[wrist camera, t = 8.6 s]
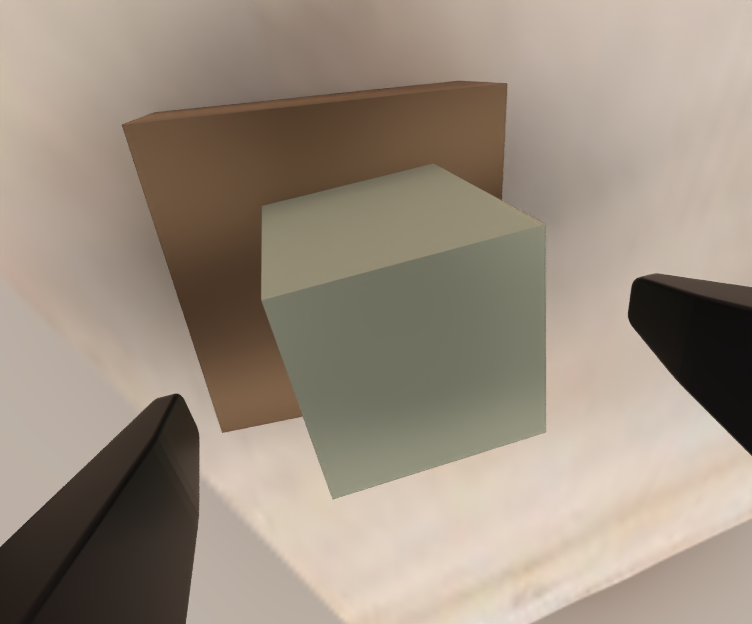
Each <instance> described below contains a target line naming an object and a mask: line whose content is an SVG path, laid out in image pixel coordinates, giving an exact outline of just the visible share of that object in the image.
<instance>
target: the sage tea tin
mask: <svg viewBox="0 0 752 624" xmlns="http://www.w3.org/2000/svg"><path fill="white" fill-rule="evenodd" d="M261 301H262V304H263V306H264V309H265V312H266V315H267V318H268V320H269V323H270V326H271V329H272V332H273V334H274V337H275V340H276V343H277V345H278V348H279V351H280V354H281V357H282V359H283V362H284V365H285V368H286V371H287V373H288V376H289V379H290V382H291V385H292V387H293V390H294V393H295V396H296V399H297V401H298V404H299V407H300V410H301V413H302V415H303V418H304V421H305V424H306V427H307V429H308V432H309V435H310V438H311V441H312V443H313V446H314V449H315V452H316V454H317V457H318V460H319V463H320V466H321V468H322V471H323V474H324V477H325V480H326V482H327V485H328V488H329V491H330V494H331V496H332V499H336V498H339V497H342V496H345V495H348V494H352V493H355V492H358V491H361V490H364V489H367V488H371V487H374V486H377V485H380V484H383V483H386V482H390V481H393V480H396V479H399V478H402V477H406V476H409V475H412V474H415V473H418V472H421V471H425V470H428V469H431V468H434V467H437V466H440V465H444V464H447V463H450V462H453V461H456V460H460V459H463V458H466V457H469V456H472V455H475V454H479V453H482V452H485V451H488V450H491V449H494V448H498V447H501V446H504V445H507V444H510V443H514V442H517V441H520V440H523V439H526V438H529V437H533V436H536V435H539V434H542V433H545V432H546V285H545V224H544V223H542V222H540V221H538V220H537V219H535V218H533V217H531V216H529V215H527V214H526V213H524V212H522V211H520V210H518V209H516V208H515V207H513V206H511V205H509V204H507V203H505V202H504V201H502V200H500V199H498V198H496V197H494V196H492V195H491V194H489V193H487V192H485V191H483V190H481V189H480V188H478V187H476V186H474V185H472V184H470V183H469V182H467V181H465V180H463V179H461V178H459V177H458V176H456V175H454V174H452V173H450V172H448V171H447V170H445V169H443V168H441V167H439V166H437V165H436V164H430V165H425V166H421V167H417V168H413V169H409V170H405V171H401V172H397V173H393V174H389V175H385V176H381V177H377V178H373V179H369V180H365V181H361V182H357V183H353V184H349V185H344V186H340V187H336V188H332V189H328V190H324V191H320V192H316V193H312V194H308V195H304V196H300V197H296V198H292V199H288V200H284V201H280V202H276V203H272V204H268V205H263V206H262V268H261Z"/></svg>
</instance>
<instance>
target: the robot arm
mask: <svg viewBox="0 0 752 624" xmlns="http://www.w3.org/2000/svg"><path fill="white" fill-rule="evenodd" d="M628 318H629V322H630V324H631V325H632V327H633V328H634V329H635V330H636V332H637V333H638V334H639V335H640V337H641V338H642V339H643V340H644V341H645V343H646V344H647V345H648V346H649V348H650V349H651V350H652V351H653V352H654V354H655V355H656V356H657V357H658V358H659V360H660V361H661V362H662V363H663V365H664V366H665V367H666V368H667V369H668V371H669V372H670V373H671V374H672V375H673V377H674V378H675V379H676V380H677V381H678V382H679V383H680V384H681V385H682V386H683V387H684V389H685V390H686V391H687V392H688V393H689V394H690V395H691V396H692V397H693V398H694V399H695V400H696V401H697V402H698V403H699V404H700V405H701V406H702V407H703V408H704V409H705V410H706V411H707V412H708V413H709V414H710V415H711V416H712V417H713V418H714V419H715V420H716V421H717V422H718V423H719V424H720V425H721V426H722V427H723V428H724V429H725V430H726V431H727V432H728V433H729V434H730V435H731V436H732V437H733V438H734V439H735V440H736V441H737V442H738V443H739V444H740V445H741V446H742V447H743V448H744V449H745V450H746V451H747V452H748V453H749V454H750V455H751V456H752V287H746V286H739V285H733V284H726V283H719V282H712V281H705V280H698V279H692V278H685V277H678V276H671V275H664V274H650V275H646V276H642V277H639V278H637V279H635V280H634V282H633V283H632V287H631V294H630V302H629V309H628ZM198 519H199V432H198V429H197V426H196V424H195V421H194V419H193V417H192V415H191V413H190V411H189V409H188V407H187V404H186V402H185V400H184V398H183V397H182V396H181V395H179V394H172V395H168V396H164V397H160V398H157V399H155V400H154V401H153V402H152V403H151V404H150V405H149V406H148V407H146V408H145V409H144V410H143V411H142V412H141V413H140V414H139V415H138V416H137V417H136V418H135V419H134V420H133V421H132V422H131V423H130V424H129V425H128V426H127V427H126V428H124V429H123V431H121V432H120V433H119V434H118V435H117V436H116V437H115V438H114V439H113V440H112V441H111V442H110V443H109V444H108V445H107V446H106V447H105V448H103V450H101V451H100V452H99V453H98V454H97V455H96V456H95V457H94V458H93V459H92V460H91V461H90V462H89V463H88V464H87V465H86V466H85V467H84V468H83V469H81V470H80V471H79V472H78V473H77V474H76V475H75V476H74V477H73V478H72V479H71V480H70V481H69V482H68V483H67V484H66V485H65V486H64V487H63V488H62V489H61V490H59V491H58V492H57V493H56V494H55V495H54V496H53V497H52V498H51V499H50V500H49V501H48V502H47V503H46V504H45V505H44V506H43V507H42V508H41V509H40V510H39V511H37V512H36V513H35V514H34V515H33V516H32V517H31V518H30V519H29V520H28V521H27V522H26V523H25V524H24V525H23V526H22V527H21V528H20V529H19V530H17V532H15V533H14V534H13V535H12V536H11V537H10V538H9V539H8V540H7V541H6V542H5V543H4V544H3V545H2V546H1V547H0V624H186V617H187V609H188V602H189V593H190V585H191V578H192V570H193V561H194V554H195V545H196V538H197V530H198Z"/></svg>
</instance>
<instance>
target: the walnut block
mask: <svg viewBox="0 0 752 624" xmlns="http://www.w3.org/2000/svg"><path fill="white" fill-rule="evenodd" d="M506 100H507V83H489V82H471V81H454V82H444V83H434V84H425V85H415V86H405V87H396V88H386V89H377V90H367V91H357V92H348V93H338V94H329V95H319V96H309V97H300V98H290V99H281V100H271V101H261V102H252V103H242V104H233V105H223V106H213V107H204V108H194V109H185V110H175V111H165V112H156V113H152V114H149V115H146V116H144V117H141V118H138V119H136V120H133V121H130V122H128V123H125V124H122V127H123V130H124V133H125V136H126V139H127V142H128V145H129V148H130V151H131V154H132V158H133V161H134V164H135V167H136V170H137V173H138V176H139V179H140V182H141V185H142V188H143V191H144V194H145V197H146V200H147V204H148V207H149V210H150V213H151V216H152V219H153V222H154V225H155V228H156V231H157V234H158V237H159V240H160V243H161V246H162V249H163V253H164V256H165V259H166V262H167V265H168V268H169V271H170V274H171V277H172V280H173V283H174V286H175V289H176V292H177V295H178V299H179V302H180V305H181V308H182V311H183V314H184V317H185V320H186V323H187V326H188V329H189V332H190V335H191V338H192V341H193V344H194V348H195V351H196V354H197V357H198V360H199V363H200V366H201V369H202V372H203V375H204V378H205V381H206V384H207V387H208V390H209V393H210V397H211V400H212V403H213V406H214V409H215V412H216V415H217V418H218V421H219V424H220V427H221V430H222V433H224V432H229V431H234V430H239V429H243V428H248V427H253V426H258V425H263V424H268V423H273V422H278V421H283V420H288V419H293V418H298V417H302V416H303V415H302V413H301V410H300V407H299V404H298V401H297V399H296V396H295V393H294V390H293V387H292V385H291V382H290V379H289V376H288V373H287V371H286V368H285V365H284V362H283V359H282V357H281V354H280V351H279V348H278V345H277V343H276V340H275V337H274V334H273V332H272V329H271V326H270V323H269V320H268V318H267V315H266V312H265V309H264V306H263V304H262V301H261V268H262V206H263V205H268V204H272V203H276V202H280V201H284V200H288V199H292V198H296V197H300V196H304V195H308V194H312V193H316V192H320V191H324V190H328V189H332V188H336V187H340V186H344V185H349V184H353V183H357V182H361V181H365V180H369V179H373V178H377V177H381V176H385V175H389V174H393V173H397V172H401V171H405V170H409V169H413V168H417V167H421V166H425V165H430V164H436V165H437V166H439V167H441V168H443V169H445V170H447V171H448V172H450V173H452V174H454V175H456V176H458V177H459V178H461V179H463V180H465V181H467V182H469V183H470V184H472V185H474V186H476V187H478V188H480V189H481V190H483V191H485V192H487V193H489V194H491V195H492V196H494V197H496V198H498V199H500V200H502V181H503V161H504V141H505V121H506Z"/></svg>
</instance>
